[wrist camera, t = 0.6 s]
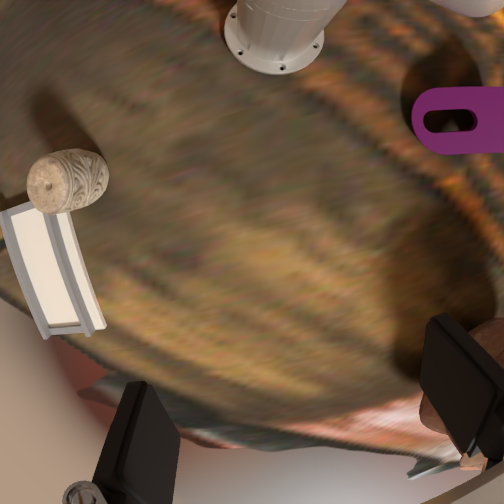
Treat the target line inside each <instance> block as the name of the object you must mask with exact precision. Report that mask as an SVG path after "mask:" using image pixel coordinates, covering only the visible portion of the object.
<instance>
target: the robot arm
mask: <svg viewBox="0 0 504 504" xmlns="http://www.w3.org/2000/svg"><path fill="white" fill-rule="evenodd" d="M346 1H347V0H237V3H236V4H235V5H234V6H233V7H232V9H231V10H230V11H229V13H228V15H227V18H226V20H225V26H224V34H225V40H226V43H227V46H228V48H229V50H230V51H231V53H232V54H233V56H234V57H235V58H236V59H237V60H238V61H239V62H240V63H242V64H243V65H245V66H246V67H248V68H250V69H252V70H254V71H256V72H260V73H264V74H270V75H286V74H290V73H294V72H297V71H299V70H301V69H303V68H305V67H306V66H308V65H309V64H310V63H311V62H312V61H314V59H315V58H316V57H317V56H318V54H319V53H320V51H321V49H322V46H323V42H324V28H325V26H326V25H327V24H328V23H329V22H330V20H331V19H332V18H333V17H334V16H335V14H336V13H337V12H338V11H339V10H340V9H341V7H342V6H343V5H344V4H345V3H346ZM429 1H432V2H434V3H436V4H438V5H440V6H442V7H444V8H446V9H448V10H450V11H453V12H456V13H458V14H461V15H465V16H470V17H484V16H488V15H491V14H493V13H495V12H497V11H499V10H500V9H502V8H503V7H504V0H429ZM232 17H236V18H232ZM313 46H315V47H316V49H315V48H314V47H313ZM238 53H242V55H239V54H238ZM281 67H282V68H283V69H284V70H280V68H281ZM419 382H420V386H421V388H422V390H423V391H424V393H425V395H426V396H427V398H428V399H429V401H430V402H431V404H432V405H433V407H434V409H435V410H436V412H437V413H438V415H439V416H440V418H441V420H442V421H443V423H444V424H445V426H446V428H447V429H448V431H449V433H450V434H451V436H452V437H453V439H454V441H455V442H456V444H457V446H458V447H459V449H460V451H461V452H462V453H467V455H468V457H469V458H471V457H473V456H475V455H477V454H478V453H480V452H482V454H483V455H484V457H485V458H484V463H483V467H482V471H481V474H480V475H478V476H476V477H474V478H472V479H471V480H469V481H467V482H465V483H463V484H461V485H459V486H457V487H455V488H453V489H451V490H450V491H448V492H445V493H443V494H441V495H439V496H437V497H435V498H433V499H431V500H428V501H426V502H424V503H421V504H504V369H503V368H502V367H501V366H500V365H499V364H498V363H497V362H496V361H495V360H494V359H493V358H492V356H491V355H490V354H489V353H488V352H487V351H486V350H485V349H484V348H483V347H482V346H481V345H480V344H479V343H478V342H477V341H476V340H475V339H474V338H473V337H472V336H471V335H470V334H469V333H468V332H467V331H466V330H465V329H464V328H463V327H462V326H461V325H459V324H458V323H457V322H456V321H455V320H454V319H453V318H452V317H451V316H450V315H449V314H448V313H442V314H439V315H437V316H434V317H432V318H431V319H430V321H429V323H427V325H426V332H425V341H424V350H423V358H422V365H421V372H420V378H419ZM179 448H180V435H179V432H178V430H177V429H176V427H175V425H174V424H173V422H172V420H171V419H170V417H169V415H168V414H167V412H166V410H165V408H164V407H163V405H162V403H161V401H160V399H159V398H158V396H157V394H156V392H155V390H154V388H153V387H152V385H148V384H147V383H146V382H145V381H136V382H129V383H127V385H126V388H125V390H124V393H123V395H122V398H121V401H120V403H119V406H118V409H117V412H116V414H115V417H114V420H113V422H112V424H111V426H110V429H109V432H108V434H107V437H106V440H105V443H104V446H103V449H102V452H101V455H100V458H99V461H98V464H97V467H96V470H95V473H94V476H93V479H92V482H89V481H78V482H75V483H73V484H72V485H70V486H69V487H68V488H67V489H66V491H65V492H64V495H63V500H62V503H63V504H172V501H173V493H174V485H175V478H176V469H177V463H178V455H179Z"/></svg>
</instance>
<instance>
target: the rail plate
mask: <svg viewBox="0 0 504 504" xmlns="http://www.w3.org/2000/svg"><path fill="white" fill-rule="evenodd" d="M0 225H1V229H2V232H3V236H4V239H5V242H6V246H7V249H8V252H9V255H10V258H11V261H12V264H13V267H14V270H15V273H16V276H17V278H18V281H19V284H20V286H21V289H22V291H23V294H24V296H25V299H26V301H27V304H28V306H29V309H30V311H31V313H32V315H33V318H34V320H35V322H36V324H37V327H38V329H39V331H40V333H41V335H42V337H43V339H48V338H49V337H50V336H51V335H55V334H71V333H85V336H86V337H91V336H92V334H93V333H94V331H95V330H98V329H105V328H106V326H107V324H106V322H105V319H104V317H103V314H102V312H101V309H100V307H99V304H98V301H97V299H96V296H95V293H94V290H93V288H92V285H91V282H90V279H89V276H88V273H87V270H86V267H85V264H84V261H83V258H82V254H81V251H80V248H79V244H78V241H77V238H76V234H75V231H74V227H73V223H72V219H71V216H70V212H66V213H60V214H54V215H47V214H44V213H42V212H40V211H38V210H37V209H36V208H35V207H34V206H33V204H32V203H31V201H29V202H26V203H23V204H20V205H18V206H15V207H12V208H10V209H7V210H4V211H2V212H0Z"/></svg>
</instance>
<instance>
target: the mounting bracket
mask: <svg viewBox="0 0 504 504" xmlns="http://www.w3.org/2000/svg"><path fill="white" fill-rule="evenodd" d="M450 109H466V110H468V111H469V112H470V113H471V114H472V116H473V119H474V124H473V126H472V128H471V129H470V130H467V131H449V132H429V131H428V130H427V129H426V128H425V126H424V124H423V117H424V115H425V114H426V113H427V112H428V111H433V110H450ZM411 125H412V129H413V131H414V133H415V135H416V137H417V138H418V140H419V141H420V142H421V143H422V144H423V145H424V146H425V147H427V148H428V149H430V150H431V151H433V152H435V153H438V154H443V155H453V154H471V153H499V152H504V87H444V88H433V89H430V90H427V91H425V92H423V93H422V94H421V95H419V96H418V97H417V99H416V100H415V101H414V103H413V106H412V109H411Z"/></svg>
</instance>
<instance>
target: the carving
mask: <svg viewBox="0 0 504 504" xmlns="http://www.w3.org/2000/svg"><path fill="white" fill-rule="evenodd" d="M108 179H109V172H108V167H107V165H106V163H105V161H104V159H103V158H102V157H101V156H100V155H98V154H97V153H94V152H90V151H85V150H81V149H77V148H75V149H67V150H61V151H56V152H54V153H51V154H46V155H44V156H41V157H40V158H38V159H37V160H36V161H35V162H34V163H33V165H32V166H31V168H30V171H29V173H28V176H27V192H28V196H29V199H30V201H31V203H32V204H33V206H34V207H35V208H36V209H37V210H38V211H40V212H42V213H44V214H47V215H54V214H60V213H66V212H70V211H72V210H75V209H78V208H82V207H85V206H87V205H89V204H91V203H93V202H94V201H96V200H97V199H98V198H99V197H100V196H101V195H102V194H103V193H104V191H105V190H106V187H107V184H108Z"/></svg>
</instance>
